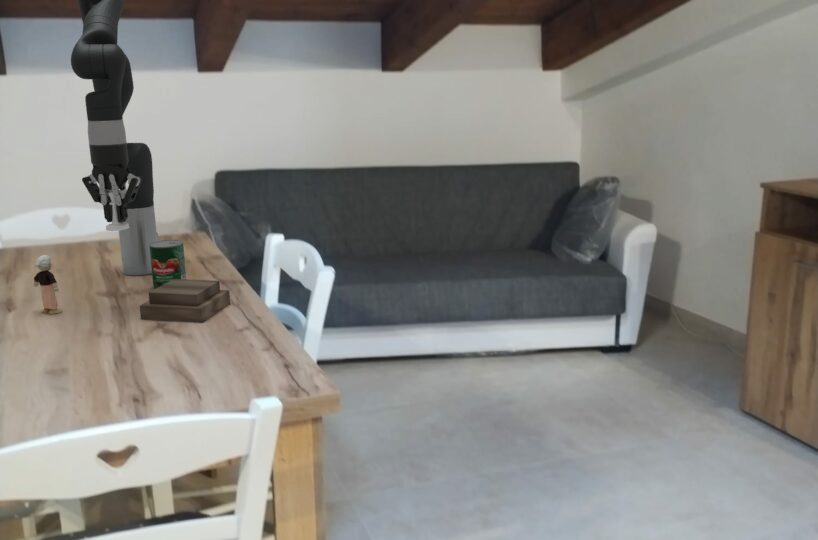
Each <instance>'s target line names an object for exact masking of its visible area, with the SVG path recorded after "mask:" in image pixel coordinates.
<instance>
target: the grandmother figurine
mask: <svg viewBox="0 0 818 540" xmlns="http://www.w3.org/2000/svg"><path fill="white" fill-rule="evenodd" d="M34 267H36V268H38V269H39V270H40V271H39V272H37V273H36V274H35V276H34V277H33V286H34V287H36V288H37V287H39V286H40V288H41V299H42V306H43V307H42V308H43V309H42V310H41V313H42V314H46V313H48V314H49V315H54V314H60V313H63V309H62V308H60V307H59V303H58V299H57V296H56V292H58V291H59V287H58V283H57V279H56V277H55V275H54V273H52V272H51V271H50V270H51V268H52V263H51V257H50V256H49V255H48V254H43V255H40V256H39V257H38V258H37V259H36V261H35V263H34Z"/></svg>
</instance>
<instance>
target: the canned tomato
mask: <svg viewBox="0 0 818 540" xmlns="http://www.w3.org/2000/svg"><path fill="white" fill-rule="evenodd" d="M149 247H150V259H151V269H152V273H151V276H152V277H151V278H152V286H153V287H152V290H154V289H156V288H158V287H160V286H162V285H163V284H165V283H167V282H169V281H171V280H173V279H187V271H186V258H185V250H184V249H185V248H184V240H181V239H160V240H159V241H155V242H152V243H150V244H149Z"/></svg>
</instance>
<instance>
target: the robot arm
mask: <svg viewBox="0 0 818 540" xmlns="http://www.w3.org/2000/svg"><path fill="white" fill-rule="evenodd" d="M125 2H126V0H77V3H78V7H79V12H80V17H81V20H82V21H81V22H82V34H81V36H80V38H79V39H78V41H77V42H76V43H75V44H74V46H73V48H72V51H71V54H70V55H71V56H70V65H71V69H72V70H73V73H74V74H75V75H76V76H77V77H79V78H80V79H82V80H91V81H92V86H93V90H94V91H90V92H88V93H87V94H86V95H85V99H84V100H85V108H86V118H87V137H88V146H89V154H90V155H89V156H90V163H91V165H92V170H91V173H90V174H89V175H87V176H84V177H82V178H81V181H82V183H83V185H84V186H85V189H86V190H87V192H88V193H89V195H90V197H91V199H92V200H93V202H94V203H99V204H101V205H102V208H103V216H104V219H105V220H106V222H107V223H112V222H111V221H112V219H113V209H112V205H110V202H111V201H112V200H111V199H110V196H109V194H108V192H110V191H111V189H112V190H113V194H114V195H115V198H116V203H117V206H116V208H117V217H118V222H119V223H127V224H129V228H128V229H125V230H119V231H118V236H119V245H120V246H119V247H120V255H121V264H122V273H123V274H124V275H127V276H145V275H150V274H151V275H152V269H151V259H150V247H149V244H150V243H152V242H155V241H160V240H159V233H158V232H157V225H156V223H157V222H156V213H155V203H154V193H155V192H154V191H155V189H154V176H153V174H154V173H153V172H154V171H153V157H152V152H151V149H150V147H149V146H148V145H147V144H146V143H144V142H127V136H126V135H127V134H126V132H127V131H126V127H125V124H124V118H123V116H124V114H125V111H126V109H127V108H128V105H129V103H130V101H131V99H132V96H133V93H134V88H135V87H134V80H133V72H132V67H131V62H130V59H129V57H128V56H127V54H126V53H125V52H124V50H123V49H122V48H121V46H120V45H118V33H119V32H118V29H119V22H120V19H121V16H122V12H123V9H124V6H125V4H126V3H125ZM127 184H128V186H126V185H127Z"/></svg>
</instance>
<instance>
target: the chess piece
mask: <svg viewBox="0 0 818 540" xmlns="http://www.w3.org/2000/svg"><path fill="white" fill-rule="evenodd" d="M108 194H109V196H110V199H111V200H112V201H111V202H110V205H112V209H113V219H112V221H111V222H110V223H109V224H107V225H106V226H105V231H107V232H108V231H109V232H116V231H117V232H119V230H125V229H128V228H129V224H127V223H119V222H118V217H117V208H116V206H117V203H116V198H115V195H114V194H113V190H112V189H111V191H110V192H108Z"/></svg>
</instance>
